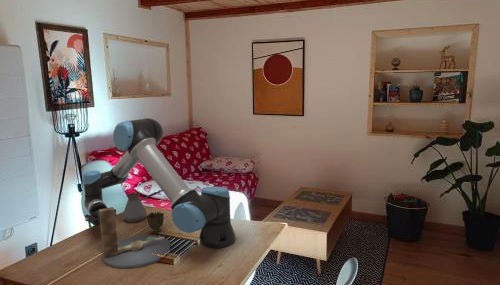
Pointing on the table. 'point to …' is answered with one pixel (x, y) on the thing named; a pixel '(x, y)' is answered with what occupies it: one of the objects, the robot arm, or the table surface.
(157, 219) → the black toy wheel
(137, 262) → the dial plate
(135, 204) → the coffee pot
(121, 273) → the table surface
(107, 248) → the brown bar with rod
